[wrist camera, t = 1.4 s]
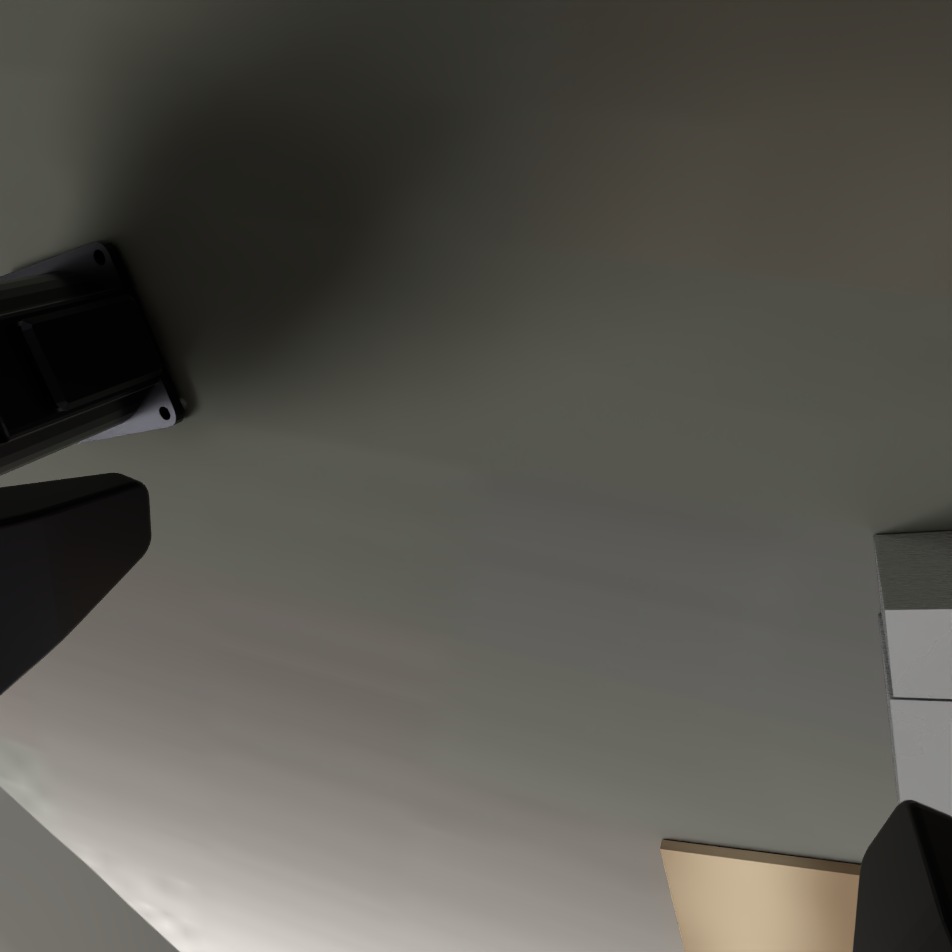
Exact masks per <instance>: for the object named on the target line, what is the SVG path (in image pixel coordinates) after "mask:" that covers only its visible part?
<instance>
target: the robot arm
mask: <svg viewBox="0 0 952 952" xmlns="http://www.w3.org/2000/svg"><path fill="white" fill-rule="evenodd" d="M103 254H104V255H103ZM104 256H105V258H104ZM168 410H169V412H170V413H169V412H168ZM183 418H184V411H183V407H182V405H181V402H180V400H179V397H178V395H177V393H176V390H175V388H174V385H173V383H172V380H171V378H170V375H169V373H168V371H167V368H166V366H165V363H164V361H163V358H162V356H161V353H160V351H159V349H158V346H157V344H156V341H155V339H154V336H153V334H152V332H151V329H150V327H149V324H148V322H147V319H146V317H145V314H144V312H143V310H142V307H141V305H140V302H139V300H138V297H137V295H136V292H135V290H134V288H133V285H132V283H131V280H130V278H129V275H128V273H127V271H126V268H125V266H124V263H123V261H122V258H121V256H120V253H119V251H118V250H117V248H116V246H115V245H114V244H113V243H111V242H109V241H98V242H92V243H90V244H87V245H84V246H82V247H79V248H76V249H74V250H71V251H68V252H66V253H63V254H60V255H58V256H55V257H52V258H49V259H47V260H44V261H41V262H39V263H36V264H33V265H31V266H28V267H25V268H23V269H20V270H17V271H15V272H12V273H9V274H6V275H4V276H1V277H0V476H1V475H3V474H5V473H8V472H10V471H12V470H15V469H17V468H19V467H22V466H24V465H26V464H29V463H31V462H33V461H36V460H38V459H40V458H43V457H45V456H47V455H50V454H52V453H54V452H57V451H59V450H61V449H64V448H66V447H68V446H71V445H73V444H78V443H83V442H88V441H94V440H99V439H105V438H110V437H116V436H121V435H127V434H132V433H138V432H143V431H148V430H154V429H159V428H165V427H170V426H172V425H175V424H177V423H179V422H181V421H182V420H183ZM150 541H151V520H150V504H149V493H148V490H147V488H146V486H145V485H144V484H143V483H141V482H140V481H137V480H135V479H132V478H130V477H127V476H125V475H123V474H119V473H107V474H99V475H92V476H84V477H77V478H69V479H61V480H54V481H46V482H39V483H31V484H23V485H16V486H8V487H1V488H0V695H2V694H3V693H4V692H5V691H6V690H7V689H8V688H10V687H11V686H12V685H13V684H14V683H15V682H16V681H18V680H19V679H20V678H21V677H22V676H23V675H24V674H26V673H27V672H28V671H29V670H30V669H31V668H32V667H33V666H35V665H36V664H37V663H38V662H39V661H40V660H41V659H43V658H44V657H45V656H46V655H47V654H48V653H49V652H50V651H51V650H53V649H54V648H55V647H56V646H57V645H58V644H59V643H60V642H61V641H62V640H63V639H64V638H65V637H66V636H67V635H68V634H69V633H70V632H71V631H72V630H73V629H74V628H75V627H76V626H77V625H78V624H79V623H80V622H81V621H82V620H83V619H84V618H85V617H86V616H87V615H88V613H89V612H90V611H91V610H92V609H93V608H94V607H95V606H96V605H97V604H98V603H99V602H100V601H101V600H102V599H103V598H104V597H105V596H106V595H107V594H108V592H109V591H110V590H111V589H112V588H113V587H114V586H115V585H116V584H117V583H118V582H119V581H120V580H121V579H122V578H123V577H124V576H125V575H126V574H127V572H128V571H129V570H130V569H131V568H132V567H133V566H134V565H135V564H136V563H137V562H138V561H139V560H140V559H141V558H142V557H143V555H144V554H145V553H146V551H147V549H148V547H149V545H150ZM853 952H952V816H950V815H948V814H946V813H944V812H941V811H939V810H937V809H934V808H932V807H929V806H927V805H924V804H922V803H920V802H917V801H914V800H904V801H903V802H901V803H900V804H899V805H898V806H897V807H896V808H895V810H894V811H893V812H892V814H891V815H890V817H889V818H888V820H887V821H886V823H885V824H884V826H883V827H882V828H881V830H880V831H879V833H878V834H877V836H876V837H875V839H874V840H873V841H872V843H871V844H870V846H869V847H868V849H867V851H866V853H865V855H864V857H863V860H862V864H861V868H860V874H859V885H858V896H857V907H856V918H855V929H854V941H853Z"/></svg>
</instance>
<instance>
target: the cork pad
mask: <svg viewBox="0 0 952 952" xmlns="http://www.w3.org/2000/svg"><path fill="white" fill-rule="evenodd" d="M660 851H661V855H662V859H663V863H664V867H665V871H666V876H667V880H668V884H669V888H670V892H671V896H672V900H673V905H674V909H675V913H676V917H677V921H678V925H679V930H680V934H681V938H682V942H683V946H684V950H685V952H853V941H854V929H855V918H856V907H857V896H858V885H859V874H860V868H861V865H857V864H850V863H842V862H834V861H826V860H818V859H810V858H802V857H795V856H787V855H779V854H771V853H763V852H755V851H747V850H740V849H732V848H724V847H716V846H708V845H700V844H692V843H685V842H677V841H669V840H662V842H661V847H660Z"/></svg>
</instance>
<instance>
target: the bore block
mask: <svg viewBox="0 0 952 952" xmlns="http://www.w3.org/2000/svg"><path fill="white" fill-rule="evenodd" d="M873 536H874V545H875V555H876V565H877V575H878V585H879V595H880V605H881V614H878V616H879V626H880V636H881V646H882V655H883V665H884V675H885V684H886V694H887V704H888V714H889V723H890V733H891V743H892V752H893V762H894V772H895V781H896V791H897V801H898V805H899V804H900V803H901V802H903V801H904V800H914V801H917V802H920V803H922V804H924V805H927V806H929V807H932V808H934V809H937V810H939V811H941V812H944V813H946V814H948V815H950V816H952V531H941V532H922V533H903V534H885V535H873Z"/></svg>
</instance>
